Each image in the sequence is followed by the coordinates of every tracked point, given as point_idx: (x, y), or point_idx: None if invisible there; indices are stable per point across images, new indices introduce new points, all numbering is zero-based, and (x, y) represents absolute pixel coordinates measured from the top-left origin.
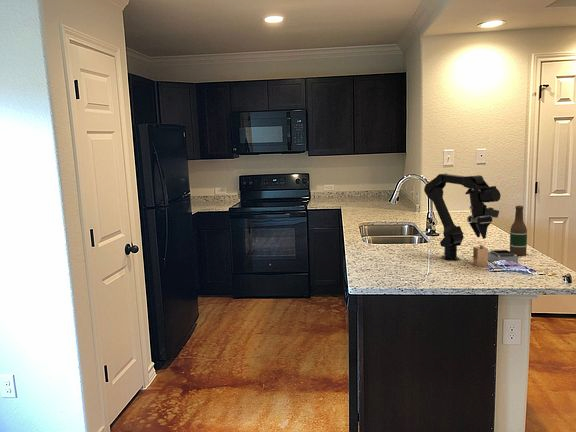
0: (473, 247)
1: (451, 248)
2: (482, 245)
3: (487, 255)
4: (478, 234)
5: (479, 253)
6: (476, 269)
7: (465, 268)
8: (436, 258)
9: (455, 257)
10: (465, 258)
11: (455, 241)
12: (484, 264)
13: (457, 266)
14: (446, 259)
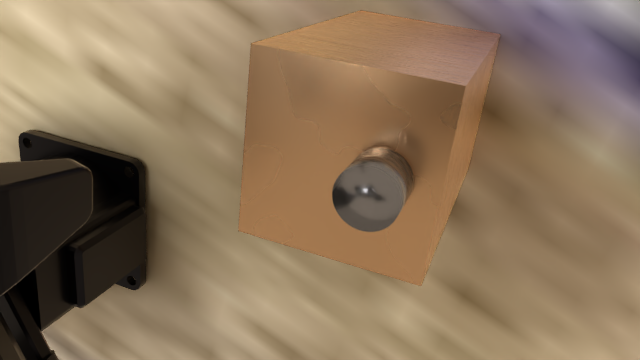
0: (246, 226)
1: (53, 305)
2: (361, 173)
3: (483, 62)
4: (26, 223)
5: (444, 214)
6: (602, 272)
7: (501, 341)
8: (76, 311)
9: (138, 220)
10: (107, 68)
11: (4, 357)
12: (488, 80)
13: (391, 351)
14: (141, 285)
